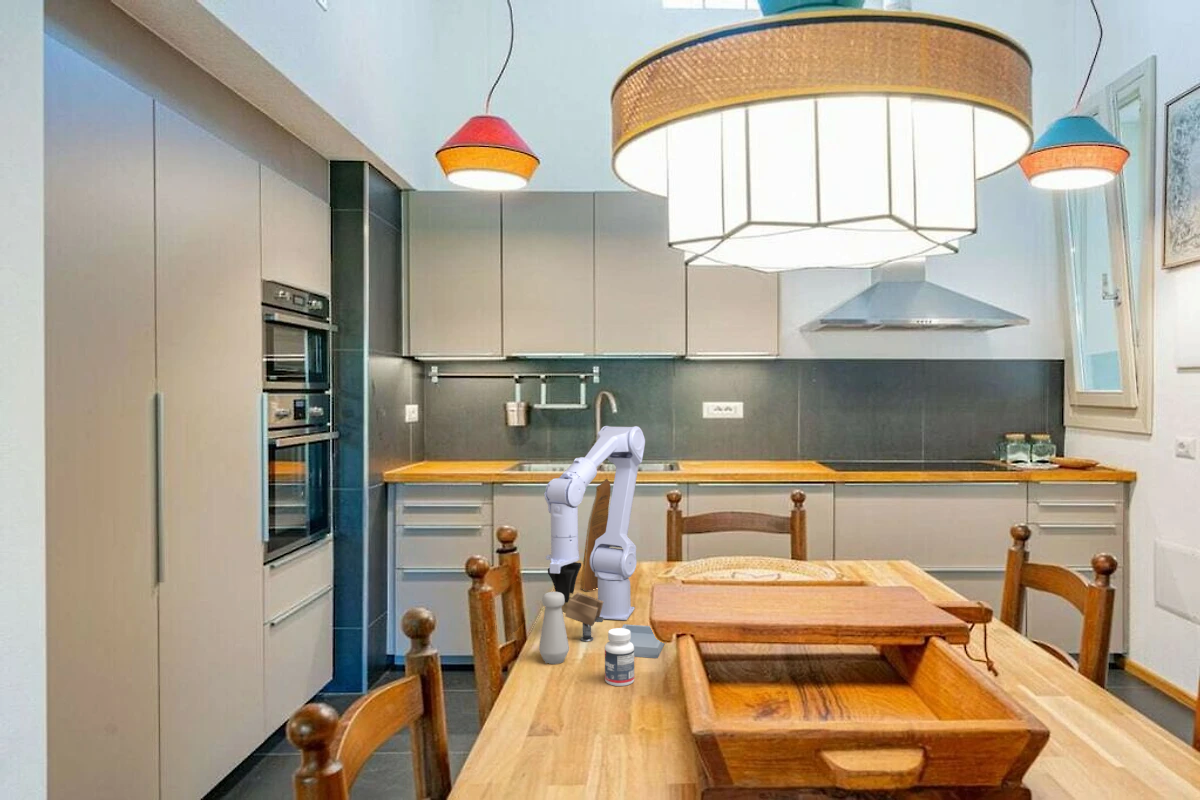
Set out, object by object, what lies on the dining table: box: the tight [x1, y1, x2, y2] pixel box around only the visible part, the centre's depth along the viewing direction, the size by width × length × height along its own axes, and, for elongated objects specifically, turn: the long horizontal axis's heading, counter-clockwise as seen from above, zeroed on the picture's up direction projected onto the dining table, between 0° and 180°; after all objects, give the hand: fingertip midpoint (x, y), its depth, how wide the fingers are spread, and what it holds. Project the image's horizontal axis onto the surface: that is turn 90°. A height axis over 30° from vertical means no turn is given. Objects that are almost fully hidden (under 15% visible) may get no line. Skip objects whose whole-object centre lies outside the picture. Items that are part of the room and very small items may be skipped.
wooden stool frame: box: [561, 592, 604, 627], centre depth 151 cm, size 9×6×4 cm, turn 76°
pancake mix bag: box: [580, 478, 612, 592], centre depth 196 cm, size 7×19×28 cm, turn 163°
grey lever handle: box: [580, 617, 604, 643], centre depth 150 cm, size 3×5×5 cm, turn 76°
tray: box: [621, 623, 665, 659], centre depth 147 cm, size 13×10×2 cm
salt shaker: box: [538, 591, 570, 665], centre depth 139 cm, size 6×6×13 cm
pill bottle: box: [604, 627, 635, 687], centre depth 129 cm, size 5×5×9 cm
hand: (565, 599), depth 152 cm, fingers closed on wooden stool frame, 2 cm apart
